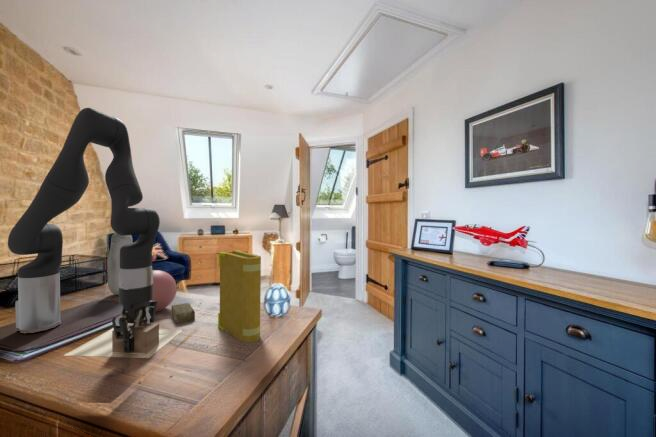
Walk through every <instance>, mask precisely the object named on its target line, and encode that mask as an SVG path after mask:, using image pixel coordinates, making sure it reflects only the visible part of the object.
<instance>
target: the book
mask: <svg viewBox="0 0 656 437" xmlns="http://www.w3.org/2000/svg"><path fill="white" fill-rule="evenodd" d="M261 256H262V255H258V254H254V253H249V252H246V251H243V250H238V249H236V250H232V252H228V251H219V252H218V268H219V312H218V314H217V316H218V317H217V318H218V320H217V322H218V323H217V324H218V325H217V327H218V328H219V329H220V330H222V331H225V332H227V333H228V334H230V335H232V336H233V337H235V338H236V339H237V340H240V341H241V342H242V343H243V342H244V343H254V342H257V341H258V340H259V339H260V338H261V296H262V295H261V284H262V283H261V280H262V279H261V278H262V277H261V276H262V274H261V272H262V266H261V265H262V262H261V261H262V257H261Z"/></svg>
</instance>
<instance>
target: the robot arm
mask: <svg viewBox="0 0 656 437" xmlns="http://www.w3.org/2000/svg"><path fill="white" fill-rule="evenodd" d="M90 143H92V144H95V145H98V146H101V147H105V148H109V150H110V151H111V153H112V156H113V157H112V160H111V162H110V163H109V165H108V166H107V168H106V170H105V174H104V175H105V176H104V179H105V181H104V182H105V184H106V188H107V190H108V194H109V197H110V203H111V206H110V207H111V210H110V211H111V212H110V227H111V229H112V231H113V232H114V233H117V234H119V235H131V236H137V235H138V237H137V239H136V240H135V241H134V242H133V241H132V242H133V243H130V244H127V245H124V246H122V247H121V249H120V272H119V295H118V303H119V304H120V305H121V306H122V311H121V314H120V315H119V316H118V317H113V318H112V319H111V323H112V328H114V332H115V337H116V339H123V347H124V348H123V350H124V352H125V353H131V352H133V351H134V331H135V329H136V328H137V327H138V324H139V323H145V324H147V323H151V324H154V322H155V321H156V319H155V318H156V306H157V301H150V300H152V299H153V270H154V269H153V248H154V245H155V241H156V237H157V234H158V231H159V229H160V224H161V223H160V222H161V221H160V217H159V214H158V212H157V210H155V209H154V208H149V207H133V206H136V205H138V204H139V203H141V202H142V201H143V192H142V189H141V186H140V184H139V181H138V179H137V176H136V173H135V168H134V165H133V157H132V149H131V144H130V136H129V131H128V128H127V126H126V124H125V122H124V121H123V120H121V119H119V118H117V117H115V116H113V115H110V114H108V113H106V112H103V111H100V110H97V109H95V108H92V107H85V108H82V109H80V111H79V112H78V113H77V115H76V117H75V118H74V119H73V122H72V124H71V127H70V129H69V132H68V134H67V136H66V138H65V142H64V144H63V146H62V148H61V150H60V152H59V154H58V156H57V158H56V159H55V161H54V163H53V164H52V166H51V168H50V169H49V171H48V172H47V175H46V176H45V177H44V180H43V181H42V182H41V185H40V187H39V189H38V191H37V193H36V195H35V196H34V198H33V200H32V201H31V203H30V204H29V206H28V208H27V209H26V210H25V211H24V213H23V214H22V215H21V217H20V218H19V219H18V221H17V222H16V223H15V225H14V226H13V227H12V229H11V230H10V232H9V235H8V237H7V247H8V250H9V251H10V252H11V253H12V254H15V255H18V256H28V255H30V256H31V255H36V254H37V256H36V257H35V258H34V259H33V260H31V261H29V262H28V263H26V264H24V265H22V266H20V267H18V269H17V289H18V292H17V293H18V297H17V298H18V300H15V302H14V303H15V305H14V306H15V307H14V308H15V309H14V310H15V329H16V328H19V329H20V330H33V329H40V328H45V327H49V326H52V325H54V324H56V323H58V322H60V323H61V283H60V282H61V280H60V276H61V275H60V273H61V272H60V268H61V265H62V262H63V246H64V245H63V243H64V242H63V241H64V240H63V233H62V230H61V228H60V227H59V226H58V225H56V224H54V223H49V222H51V221H52V220H53V219H55V218H57V216H59V215H61V214H62V213H64V212H66V211H68V210H69V209H70V208H72V207H74V206H75V205H76V204H77V203H79V202H80V200H81V198H82V197H83V195H84V193H85V192H86V190H87V188H88V186H89V182H90V180H89V179H90V178H89V175H88V170H87V167H86V164H85V159H84V155H85V151H86V149H87V147H88V145H89V144H90ZM128 323H133V325H128ZM128 329H130V333H128ZM121 332H122V334H121Z"/></svg>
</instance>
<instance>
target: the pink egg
mask: <svg viewBox="0 0 656 437" xmlns="http://www.w3.org/2000/svg"><path fill="white" fill-rule="evenodd" d="M152 270H153V299H152V300H150V301H157V306H156V312H159V311H163V310H164V309H165V308H168V306H170V305H171V304H172V302H173V301H174V300H175V297H176V295H177V292H178V290H177V289H178V287H177V282H176V280H175V279H174V277H173V276H172V275H171V274H170V273H169V272H166V271H163V270H158V269H157V270H156V269H152Z"/></svg>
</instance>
